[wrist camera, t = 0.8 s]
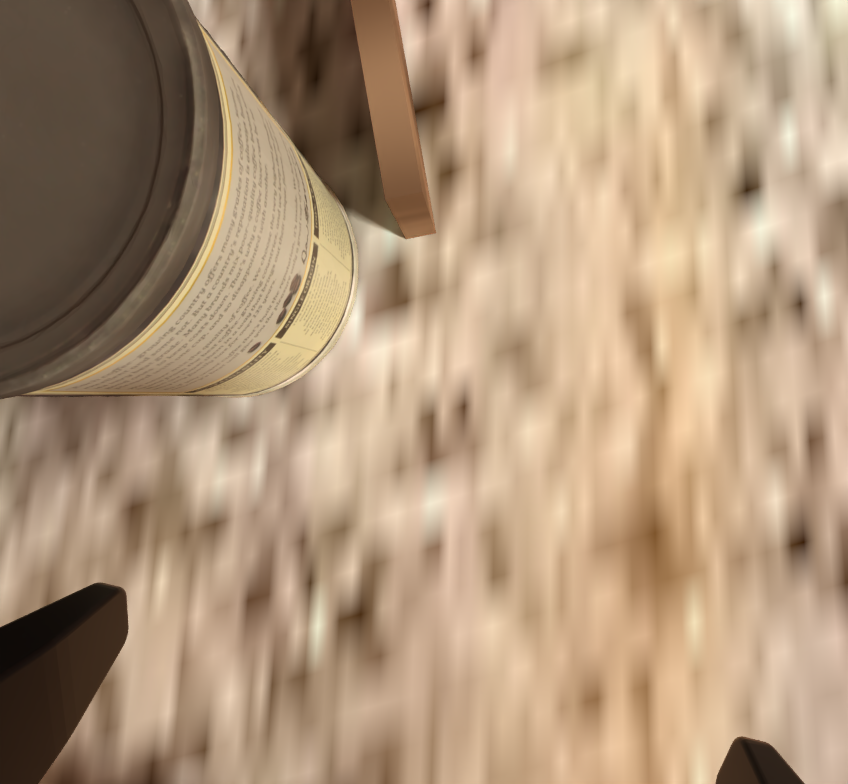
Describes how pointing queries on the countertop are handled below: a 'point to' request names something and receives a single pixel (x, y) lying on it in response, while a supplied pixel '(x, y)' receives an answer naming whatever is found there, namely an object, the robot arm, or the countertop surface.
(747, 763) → the robot arm
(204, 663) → the countertop surface
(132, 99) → the coffee can
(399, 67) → the brown tray
